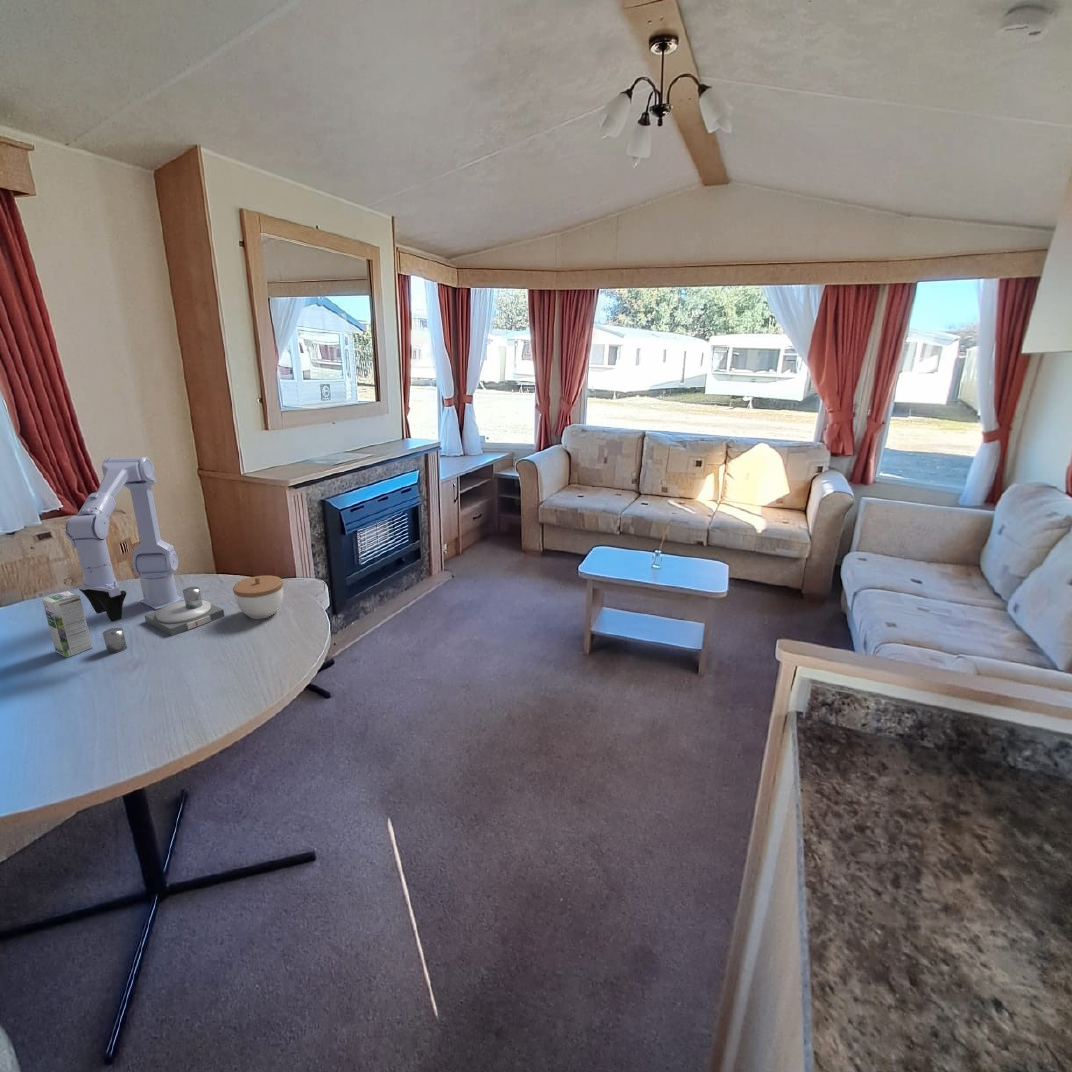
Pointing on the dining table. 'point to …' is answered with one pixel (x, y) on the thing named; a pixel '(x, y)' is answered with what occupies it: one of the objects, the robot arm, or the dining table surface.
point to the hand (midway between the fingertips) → (108, 616)
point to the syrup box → (67, 623)
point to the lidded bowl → (259, 596)
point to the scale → (183, 617)
